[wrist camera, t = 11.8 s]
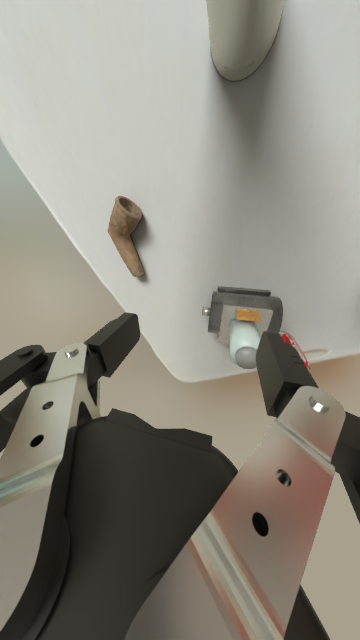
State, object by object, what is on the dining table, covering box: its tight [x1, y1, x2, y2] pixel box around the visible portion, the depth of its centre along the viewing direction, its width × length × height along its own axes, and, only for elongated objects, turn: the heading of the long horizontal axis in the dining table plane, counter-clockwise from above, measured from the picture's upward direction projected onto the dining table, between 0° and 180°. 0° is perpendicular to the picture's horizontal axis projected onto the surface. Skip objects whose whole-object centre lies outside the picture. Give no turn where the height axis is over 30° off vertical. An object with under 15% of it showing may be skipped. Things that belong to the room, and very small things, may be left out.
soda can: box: [278, 332, 310, 372], centre depth 39 cm, size 7×7×12 cm
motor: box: [202, 286, 283, 346], centre depth 36 cm, size 10×16×14 cm, turn 90°
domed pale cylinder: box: [230, 319, 260, 369], centre depth 29 cm, size 5×5×9 cm
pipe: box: [108, 196, 144, 277], centre depth 38 cm, size 6×17×10 cm
